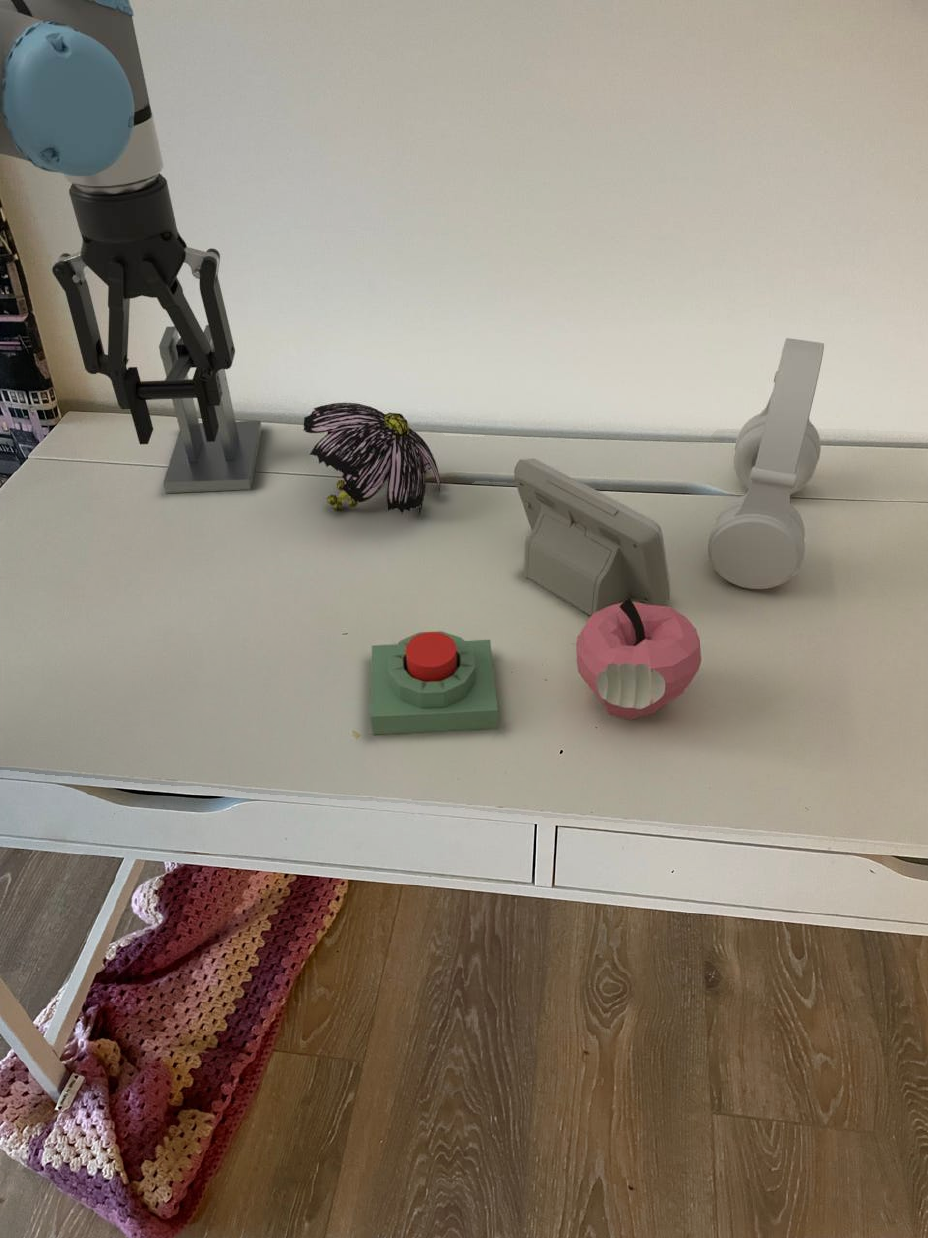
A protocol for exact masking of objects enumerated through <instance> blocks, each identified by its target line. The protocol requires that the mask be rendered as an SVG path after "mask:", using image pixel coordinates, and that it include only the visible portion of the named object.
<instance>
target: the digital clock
mask: <svg viewBox="0 0 928 1238" xmlns="http://www.w3.org/2000/svg"><path fill="white" fill-rule="evenodd" d="M513 477H514V482H515V485H516V489H517V491H518V495H519V497H520V500H521V503H522V506H523V509H524V513H525V515H526V518H527V520H528V525H529V527H530V530H531V531H530V533H529V534H528V535H527V537H526V540H525V545H524V567H523V568H524V569H523V575H524V576H525V577H526V578H527V579H529V580H532V581H533V582H534V583H536V584H538V585H540V586H541V587H543V588H545V590H548V591H549V592H551V593H552V594H554V595H556V596H557V597H559V598H561V599H562V600H564V601H566V602H567V603H569V604H570V605H572V606H573V607H576V608H577V609H579V610H581V611H582V612H583V613H585V614H586V615H589V616H590V617H591V616H592V615H593V614H594V613H596V612H598V611H600V610H602V609H604V608H606V607H608V606H611V605H615V604H619V603H622V602H623V600H626V599H627V598H628V597H629V596H631V597H634V598H636V599H637V600H639V601H641V602H642V603H643V604H648V605H657V606H663V605H664V604H666V603H667V602H668V601H669V600H670V599H671V582H670V574H669V568H668V562H667V555H666V547H665V542H664V541H665V539H664V535H663V529H662V528H661V526H660V524H659V523H658V522H657V521H656V520H654V519H652V518H651V517H649V516H647V515H645V514H643V513H642V512H639V511H637V510H635V509H633V508H632V507H630V506H628V505H625V504H624V503H622V502H620V501H618V500H616V499H613V497H610V496H608V495H606V494H605V493H602V492H600V491H599V490H597V489H595V488H593V487H590V486H589V485H587V484H585V483H583V482H581V481H579V480H578V479H576V478H574V477H572V476H569V475H568V474H565V473H564V472H562V471H560V470H558V469H556V468H554V467H553V466H550V465H548V464H546V463H544V462H542V461H540V460H537V459H535V458H522V459H518V461H517V462H516V464H515V466H514V471H513Z"/></svg>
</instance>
